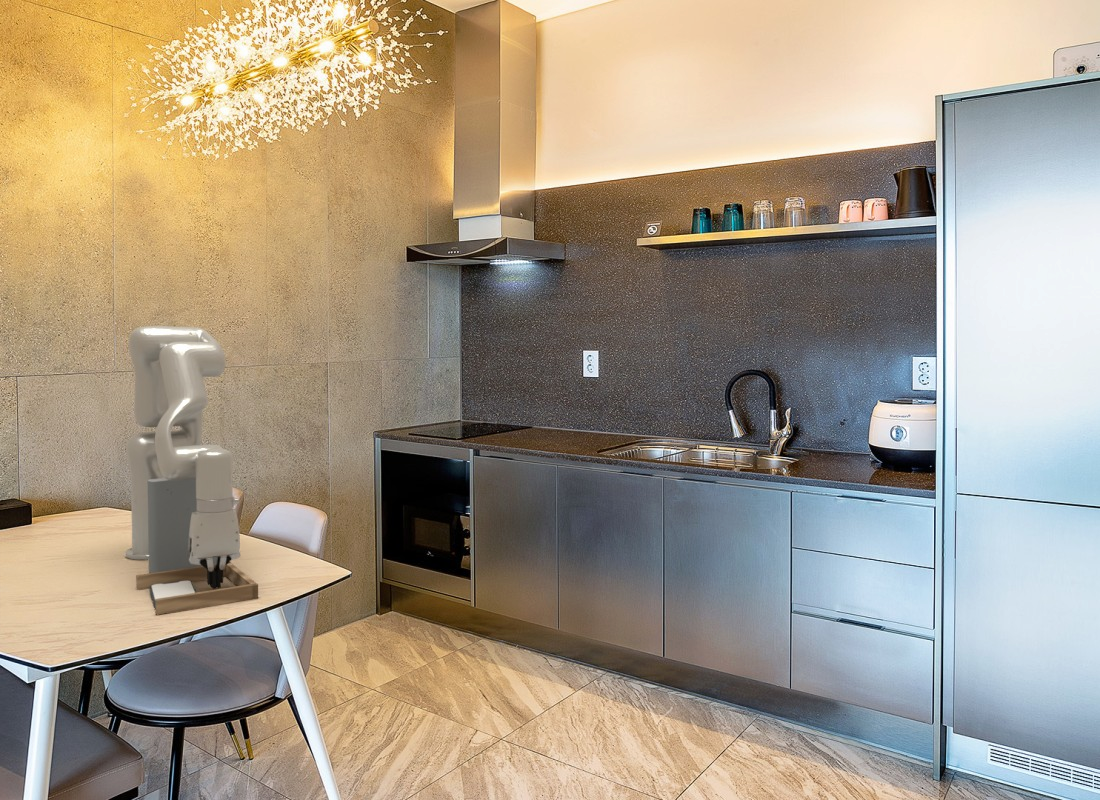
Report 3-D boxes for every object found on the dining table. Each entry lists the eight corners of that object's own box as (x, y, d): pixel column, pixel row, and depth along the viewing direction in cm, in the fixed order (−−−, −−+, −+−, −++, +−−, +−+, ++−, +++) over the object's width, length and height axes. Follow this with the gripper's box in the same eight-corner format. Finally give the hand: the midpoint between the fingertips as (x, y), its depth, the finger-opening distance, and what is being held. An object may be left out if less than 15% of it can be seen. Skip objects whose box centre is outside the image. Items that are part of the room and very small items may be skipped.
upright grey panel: (220, 561, 207) (219, 462, 205) (227, 565, 203) (226, 464, 201) (146, 573, 195) (144, 468, 194) (151, 577, 192) (150, 471, 190)
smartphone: (201, 608, 173) (192, 586, 187) (200, 600, 173) (191, 579, 187) (154, 614, 169) (148, 591, 183) (154, 606, 169) (148, 584, 182)
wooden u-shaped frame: (136, 588, 183) (136, 575, 183) (230, 574, 195) (230, 562, 195) (156, 615, 166) (156, 600, 166) (258, 598, 178) (258, 584, 178)
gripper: (243, 499, 189) (244, 577, 191) (174, 506, 180) (175, 588, 182) (254, 504, 183) (254, 585, 185) (182, 512, 174) (183, 597, 176)
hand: (215, 586), depth 183 cm, fingers closed
